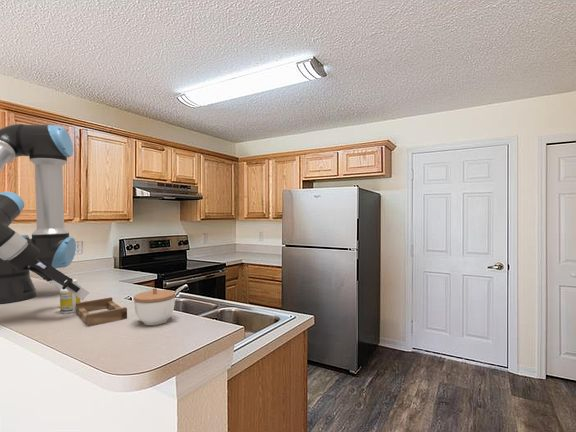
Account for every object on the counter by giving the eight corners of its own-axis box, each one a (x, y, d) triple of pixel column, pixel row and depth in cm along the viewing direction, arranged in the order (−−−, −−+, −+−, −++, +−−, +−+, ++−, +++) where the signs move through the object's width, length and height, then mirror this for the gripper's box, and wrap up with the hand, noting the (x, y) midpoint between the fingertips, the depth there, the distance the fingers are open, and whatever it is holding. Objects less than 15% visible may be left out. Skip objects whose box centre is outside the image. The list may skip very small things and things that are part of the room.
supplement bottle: (77, 308, 110) (76, 278, 109) (83, 310, 106) (82, 280, 106) (57, 312, 105) (57, 281, 105) (63, 315, 102) (62, 283, 102)
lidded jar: (159, 314, 101) (158, 283, 101) (183, 319, 95) (183, 286, 95) (126, 324, 92) (125, 290, 92) (151, 330, 86) (150, 294, 86)
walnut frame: (76, 312, 104) (75, 303, 104) (111, 306, 111) (111, 297, 111) (87, 326, 91) (87, 315, 90) (127, 318, 97) (126, 308, 97)
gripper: (-5, 258, 101) (55, 297, 113) (17, 265, 86) (83, 310, 97) (17, 240, 105) (72, 279, 117) (41, 243, 90) (102, 288, 101)
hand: (77, 293), depth 107 cm, fingers open, 13 cm apart
